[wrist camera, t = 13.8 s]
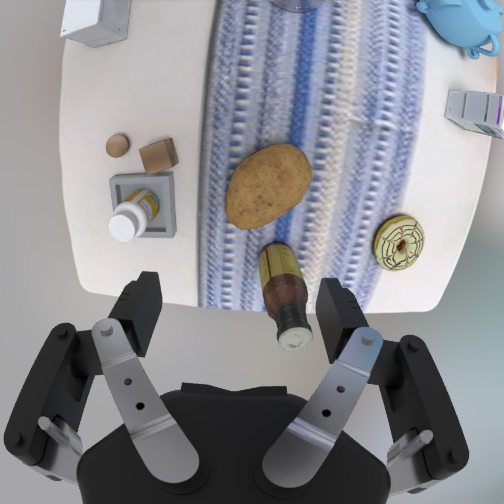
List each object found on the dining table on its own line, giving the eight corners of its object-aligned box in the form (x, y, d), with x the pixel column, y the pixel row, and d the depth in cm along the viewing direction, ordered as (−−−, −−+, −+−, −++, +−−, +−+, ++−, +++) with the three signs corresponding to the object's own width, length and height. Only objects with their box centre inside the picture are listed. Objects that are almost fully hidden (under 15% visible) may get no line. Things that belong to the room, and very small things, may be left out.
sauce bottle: (272, 277, 49) (283, 366, 32) (250, 253, 47) (252, 341, 29) (302, 258, 47) (329, 343, 30) (282, 231, 45) (303, 313, 27)
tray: (115, 174, 39) (109, 178, 37) (173, 172, 40) (168, 176, 38) (122, 230, 44) (117, 236, 42) (176, 231, 45) (172, 238, 42)
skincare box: (129, 38, 29) (97, 23, 19) (94, 48, 28) (57, 38, 19) (134, -12, 23) (108, -35, 14) (100, -2, 23) (68, -19, 14)
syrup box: (443, 117, 34) (501, 130, 22) (448, 89, 31) (505, 94, 19) (463, 129, 35) (518, 146, 22) (468, 102, 32) (523, 112, 19)
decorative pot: (395, 5, 25) (440, -16, 13) (420, -34, 18) (459, -55, 6) (460, 66, 29) (511, 67, 17) (478, 22, 22) (523, 17, 10)
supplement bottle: (127, 214, 42) (101, 240, 33) (133, 184, 40) (106, 204, 31) (156, 223, 43) (136, 252, 34) (164, 193, 40) (142, 216, 32)
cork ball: (111, 134, 36) (101, 137, 33) (131, 132, 36) (121, 134, 33) (112, 156, 38) (102, 160, 35) (132, 154, 38) (123, 158, 35)
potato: (209, 191, 41) (201, 209, 34) (274, 125, 37) (280, 127, 30) (255, 230, 45) (256, 255, 38) (319, 170, 40) (334, 183, 33)
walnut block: (148, 145, 38) (138, 149, 34) (171, 137, 37) (164, 140, 34) (155, 169, 39) (146, 175, 36) (178, 162, 39) (172, 167, 36)
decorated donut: (375, 272, 49) (382, 283, 46) (364, 225, 45) (373, 234, 41) (419, 252, 47) (428, 262, 44) (413, 205, 43) (424, 213, 39)
